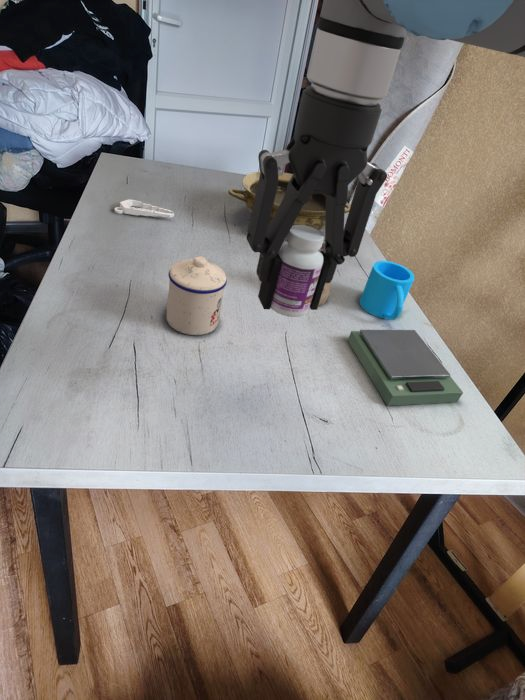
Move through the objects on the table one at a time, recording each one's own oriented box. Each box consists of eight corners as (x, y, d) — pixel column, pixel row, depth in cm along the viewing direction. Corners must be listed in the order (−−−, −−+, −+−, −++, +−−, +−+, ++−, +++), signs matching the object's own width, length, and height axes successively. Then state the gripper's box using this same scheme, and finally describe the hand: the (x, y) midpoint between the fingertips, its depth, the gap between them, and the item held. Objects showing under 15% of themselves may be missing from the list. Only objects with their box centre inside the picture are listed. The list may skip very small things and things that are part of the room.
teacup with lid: (221, 339, 77) (232, 277, 70) (164, 335, 75) (169, 270, 68) (216, 298, 87) (225, 239, 80) (165, 294, 85) (170, 233, 77)
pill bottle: (311, 321, 56) (334, 247, 50) (266, 315, 55) (285, 238, 50) (306, 297, 60) (326, 226, 55) (265, 291, 60) (281, 218, 54)
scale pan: (449, 377, 77) (450, 375, 77) (390, 379, 74) (391, 376, 73) (413, 332, 86) (414, 329, 85) (359, 332, 82) (360, 329, 82)
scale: (457, 402, 77) (464, 390, 75) (387, 406, 73) (393, 393, 71) (409, 340, 88) (415, 328, 87) (347, 340, 84) (352, 328, 83)
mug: (355, 293, 98) (368, 258, 93) (391, 298, 100) (406, 263, 95) (370, 328, 89) (386, 290, 84) (410, 332, 91) (428, 296, 86)
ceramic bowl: (330, 216, 129) (341, 180, 123) (355, 259, 111) (369, 219, 105) (220, 201, 123) (226, 161, 117) (226, 244, 104) (234, 200, 98)
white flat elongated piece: (174, 213, 112) (175, 206, 111) (173, 222, 108) (173, 214, 107) (117, 203, 109) (117, 196, 108) (113, 212, 106) (113, 205, 105)
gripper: (408, 97, 50) (342, 288, 64) (238, 67, 44) (207, 284, 58) (448, 118, 44) (366, 321, 58) (260, 86, 38) (220, 321, 52)
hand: (287, 302), depth 58 cm, fingers closed on pill bottle, 5 cm apart
